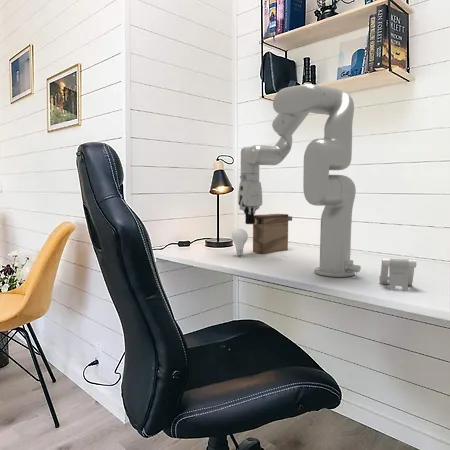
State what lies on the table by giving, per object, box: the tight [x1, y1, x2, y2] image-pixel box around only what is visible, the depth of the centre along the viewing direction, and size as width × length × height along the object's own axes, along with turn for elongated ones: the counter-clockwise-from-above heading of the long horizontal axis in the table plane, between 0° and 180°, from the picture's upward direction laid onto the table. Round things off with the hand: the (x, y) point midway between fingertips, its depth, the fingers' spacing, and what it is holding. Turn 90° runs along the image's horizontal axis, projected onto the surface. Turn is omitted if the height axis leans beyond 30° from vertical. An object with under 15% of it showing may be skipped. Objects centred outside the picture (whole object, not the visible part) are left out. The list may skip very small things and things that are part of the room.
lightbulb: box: [231, 228, 249, 257], centre depth 170 cm, size 6×6×11 cm
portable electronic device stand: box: [378, 257, 417, 292], centre depth 120 cm, size 9×8×8 cm
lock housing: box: [252, 213, 289, 255], centre depth 183 cm, size 6×16×16 cm, turn 134°
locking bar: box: [254, 215, 293, 224], centre depth 183 cm, size 3×25×2 cm, turn 133°
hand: (249, 223), depth 174 cm, fingers closed
